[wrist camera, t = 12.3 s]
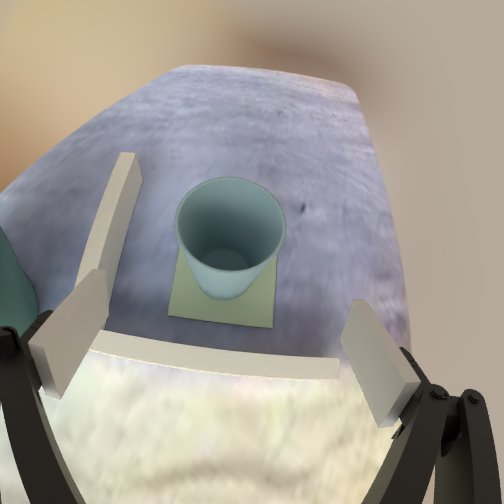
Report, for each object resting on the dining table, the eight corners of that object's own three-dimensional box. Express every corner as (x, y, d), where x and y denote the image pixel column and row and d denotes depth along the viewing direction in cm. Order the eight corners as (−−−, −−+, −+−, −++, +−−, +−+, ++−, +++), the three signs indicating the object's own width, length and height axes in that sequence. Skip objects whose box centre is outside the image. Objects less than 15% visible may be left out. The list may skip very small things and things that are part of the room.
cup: (168, 280, 29) (151, 229, 20) (215, 225, 33) (219, 160, 23) (231, 327, 28) (244, 296, 19) (275, 266, 32) (304, 213, 22)
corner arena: (83, 349, 26) (61, 341, 21) (128, 179, 34) (119, 151, 29) (318, 381, 28) (338, 379, 23) (320, 204, 36) (334, 179, 31)
